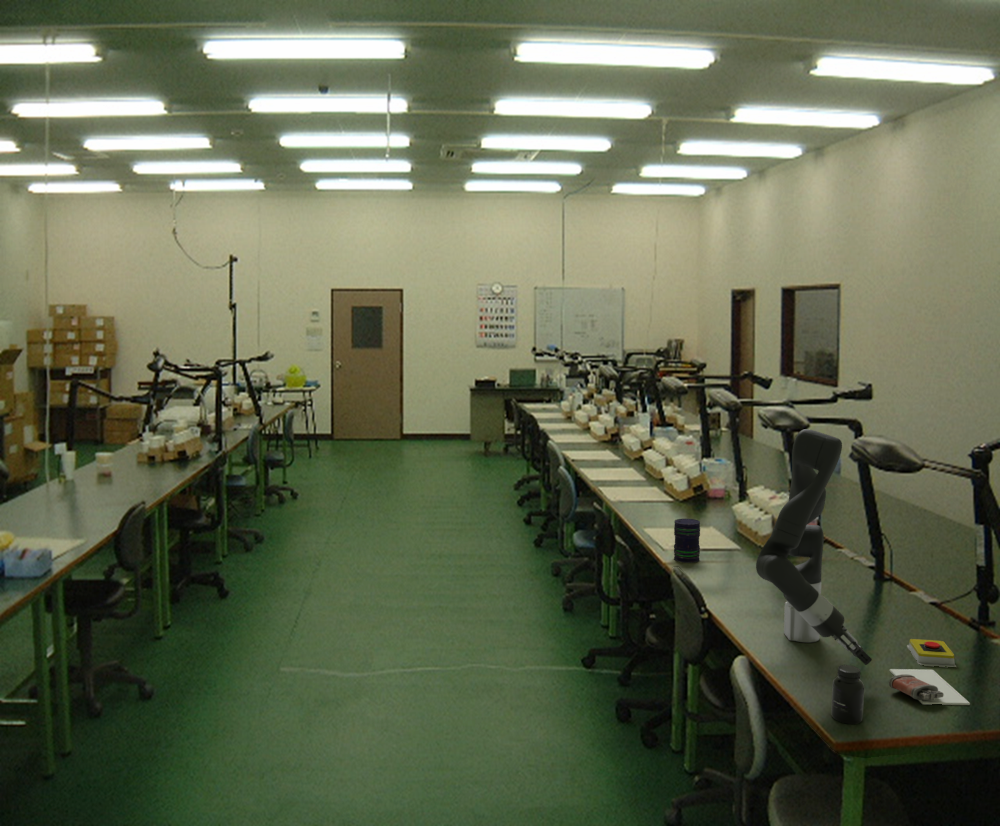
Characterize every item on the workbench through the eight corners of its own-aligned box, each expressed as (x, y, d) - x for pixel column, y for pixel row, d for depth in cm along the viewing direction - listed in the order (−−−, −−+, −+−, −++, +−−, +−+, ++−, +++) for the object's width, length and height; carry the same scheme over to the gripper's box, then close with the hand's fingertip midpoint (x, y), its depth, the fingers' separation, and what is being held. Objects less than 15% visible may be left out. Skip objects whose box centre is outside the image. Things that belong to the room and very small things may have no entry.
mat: (922, 704, 208) (922, 702, 208) (889, 670, 228) (889, 669, 228) (969, 705, 208) (969, 703, 208) (932, 671, 227) (932, 669, 227)
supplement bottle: (831, 722, 199) (832, 672, 198) (831, 709, 206) (832, 661, 204) (863, 727, 197) (865, 676, 196) (862, 714, 203) (864, 664, 202)
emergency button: (920, 651, 231) (906, 631, 246) (919, 667, 232) (905, 646, 246) (958, 653, 229) (942, 633, 244) (957, 669, 230) (941, 649, 244)
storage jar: (699, 556, 340) (700, 519, 338) (699, 563, 330) (700, 524, 329) (674, 555, 342) (674, 518, 340) (673, 562, 332) (673, 523, 331)
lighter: (888, 689, 215) (921, 705, 206) (889, 675, 215) (922, 691, 205) (912, 686, 218) (946, 702, 209) (913, 673, 218) (947, 688, 208)
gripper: (840, 612, 210) (889, 661, 211) (822, 595, 223) (869, 641, 224) (817, 633, 211) (866, 682, 212) (801, 614, 224) (847, 661, 225)
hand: (868, 661), depth 218 cm, fingers closed
